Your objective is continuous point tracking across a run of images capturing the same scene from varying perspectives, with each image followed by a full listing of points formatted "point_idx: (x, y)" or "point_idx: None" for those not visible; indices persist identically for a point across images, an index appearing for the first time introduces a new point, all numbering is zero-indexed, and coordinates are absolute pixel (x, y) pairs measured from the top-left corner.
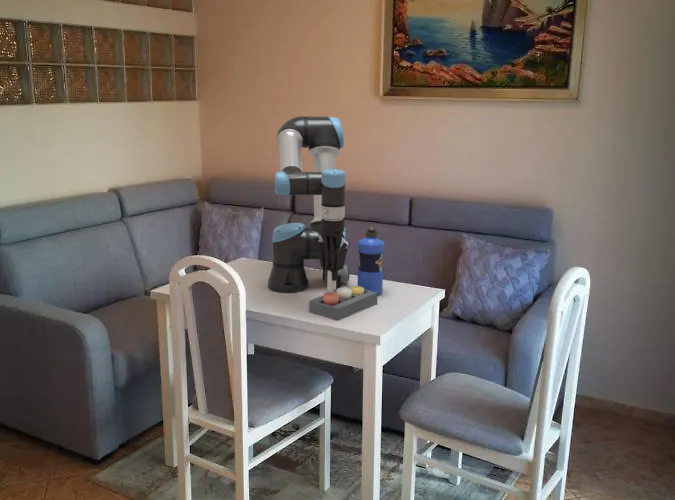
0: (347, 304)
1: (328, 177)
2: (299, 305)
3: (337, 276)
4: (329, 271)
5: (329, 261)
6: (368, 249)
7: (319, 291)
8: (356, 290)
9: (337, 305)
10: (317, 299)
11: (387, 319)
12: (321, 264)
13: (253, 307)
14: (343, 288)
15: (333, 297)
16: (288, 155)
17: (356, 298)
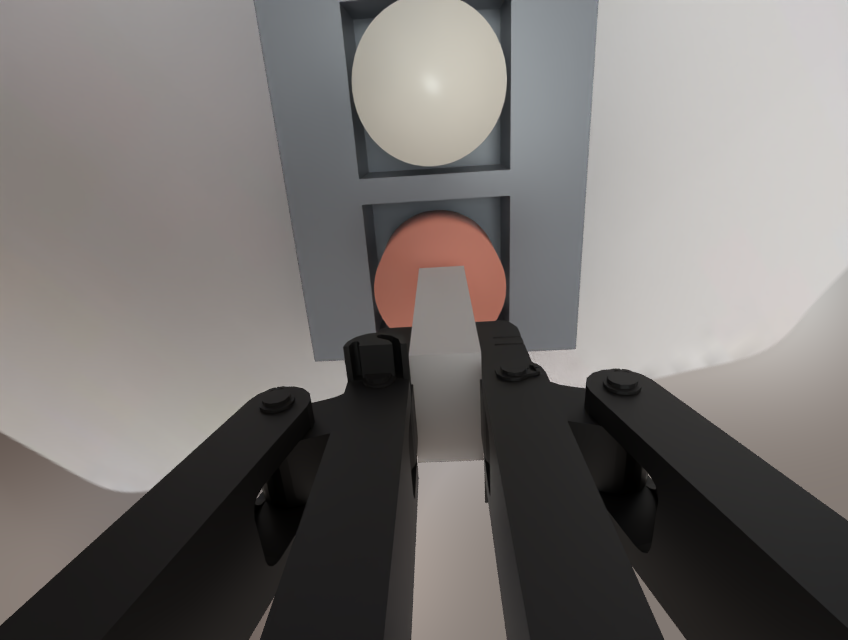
0: (577, 230)
1: None
2: (193, 280)
3: (523, 345)
4: (454, 458)
5: (410, 537)
6: None
7: None
8: None
9: (530, 299)
10: (330, 302)
11: (833, 49)
12: (279, 514)
13: (82, 467)
14: (395, 57)
15: (494, 318)
16: None
17: (546, 42)
